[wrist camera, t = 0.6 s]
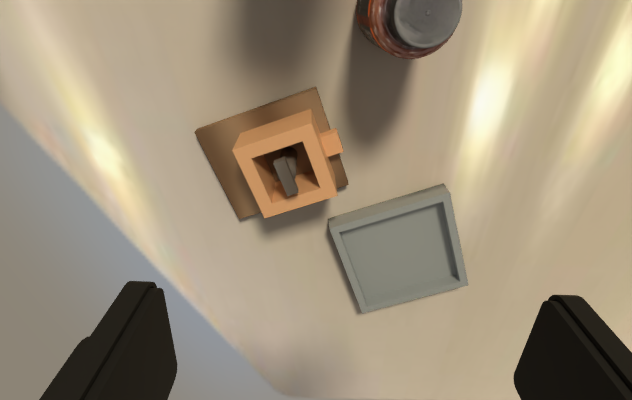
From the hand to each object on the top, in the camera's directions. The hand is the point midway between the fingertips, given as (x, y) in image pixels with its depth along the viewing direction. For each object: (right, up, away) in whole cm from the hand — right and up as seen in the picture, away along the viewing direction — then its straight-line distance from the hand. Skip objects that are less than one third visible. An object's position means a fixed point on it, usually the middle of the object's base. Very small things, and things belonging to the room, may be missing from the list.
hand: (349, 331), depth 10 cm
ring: (-3, +8, +27) cm, 29 cm away
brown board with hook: (-5, +8, +28) cm, 30 cm away
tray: (+8, -2, +34) cm, 35 cm away
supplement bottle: (+5, +19, +23) cm, 30 cm away
